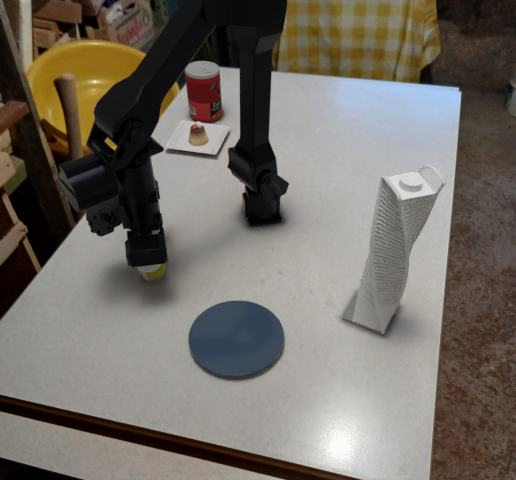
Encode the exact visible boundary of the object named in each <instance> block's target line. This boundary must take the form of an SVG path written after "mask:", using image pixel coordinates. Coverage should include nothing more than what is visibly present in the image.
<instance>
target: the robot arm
mask: <svg viewBox="0 0 516 480" xmlns="http://www.w3.org/2000/svg"><path fill="white" fill-rule="evenodd" d="M288 5H289V3H288V0H182V1H181V3H180V5H179V6H178V7H177V9H176V10H175V11H174V13H173V14H172V17H171V18H170V19H169V20H168V22H167V23H166V25H165V26H164V27H163V30H162V31H161V32H160V33H159V34H158V36H157V38H156V39H155V41H154V42H153V43H152V45H151V47H150V48H149V50H148V51H147V52H146V54H145V55H144V57H142V60H141V61H140V62H139V64H138V65H137V66H136V68H135V70H133V72H132V73H131V74H130V75H128V76H127V77H125V78H123V79H121V80H120V81H118V82H115V83H114V84H113V85H111V87H110V88H109V89H108V90H107V91H106V92H105V93H104V94H103V95H102V96H101V98H99V100H97V102H96V104H95V106H94V109H93V115H94V120H93V123H92V126H91V128H90V132H89V134H88V137H87V140H86V143H85V146H86V148H87V149H88V150H90V152H91V153H89V154H87V155H84V156H82V157H79V158H76V159H72V160H67V161H64V162H62V163H59V164H58V167H59V170H60V172H59V175H58V176H59V180H58V182H59V184H60V186H61V189H62V191H63V193H64V195H65V197H66V199H67V201H68V203H69V204H70V206H71V207H72V208H73V210H74V211H75V212H77V213H80V212H83V211H85V220H86V221H87V225H88V226H89V229H90V233H92V234H96V235H97V236H98V237H105V236H107V235H109V234H112V233H113V232H114V231H115V228H118V227H120V226H121V225H122V229H123V230H127V231H126V240H125V242H124V248H125V258H126V263H127V266H128V267H130V268H137V267H141V266H149V265H158V264H165V263H166V264H167V262H169V255H168V248H167V241H166V237H165V229H164V226H163V225H164V221H163V220H164V219H163V214H162V212H161V208H160V202H159V200H161V194H160V188H159V181H158V180H156V177H155V174H154V167H153V161H152V157H154V156H156V155H158V154H160V153H163V152H164V150H165V148H164V146H163V145H161V144H160V143H159V142H158V141H157V140H156V139H155V138H153V133H154V132H155V129H157V126H158V124H159V122H160V117H161V112H162V111H161V109H162V105H163V103H164V101H165V99H166V97H167V95H168V94H169V92H170V91H171V89H172V88H173V87H174V85H175V84H176V83H177V82H178V80H179V78H180V77H181V76H182V74H184V72H185V68H186V67H187V66H188V64H190V63H191V61H192V60H193V59H194V57H195V56H196V54H197V53H198V51H199V50H200V49H201V47H202V46H203V44H204V43H205V42H206V41H207V39H208V37H209V36H210V35H211V34H212V32H213V30H214V29H215V28H216V27H220V26H230V27H231V29H232V32H233V34H234V37H235V40H236V42H237V45H238V49H239V51H238V52H239V138H238V140H237V142H236V143H235V145H234V146H231V147H228V148H227V155H228V163H227V165H226V166H227V168H228V169H229V171H230V173H231V174H232V176H233V177H235V178H236V179H237V180H238V181H239V182H240V183H242V184H243V185H244V192H242V193H241V199H242V200H241V202H242V212H243V215H244V218H245V219H247V223H248V225H249V227H255V226H262V225H269V224H277V223H282V222H283V218H282V216H281V197H282V196H284V195H286V194H287V192H288V189H289V186H290V182H288V181H287V180H286V179H284V177H282V176H280V175H279V174H278V163H277V156H276V154H275V152H274V149H273V147H272V144H271V142H270V123H271V122H270V121H271V100H272V99H271V98H272V97H271V96H272V95H271V94H272V76H273V75H272V73H273V72H272V71H273V70H272V69H273V50H274V48H275V46H276V44H277V43H278V41H279V39H280V38H281V36H282V34H283V32H284V27H285V21H286V16H287V10H288ZM107 139H108V140H110V141H111V142H112V143H113V144H114V145H115V146H116V148H115V149H113V147H111V146H110V145H109V144H108V143H107V142H106V140H107Z"/></svg>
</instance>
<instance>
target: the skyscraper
mask: <svg viewBox="0 0 516 480" xmlns="http://www.w3.org/2000/svg"><path fill="white" fill-rule="evenodd" d="M425 169H430V170H432V171H433V172H434V173H436V174H437V175H438V176H439V178H440V181H441V184H440V185H439V187H438V189H437V190H435V189H434V187H433V186H432V185H431V184H430V183H429V181H428V179H426V178H425V176H424V175H423V174H422V173H421V172H422V171H424V170H425ZM445 185H447V180H446V178H445V176H444V175H443V174H442V172H441V171H440V170H439V169H438V168H436V167H435V166H434V165H432V164H431V163H425V164H423V165H421V166H420V167H419V168H418V169H417V170H416V171H413V172H411V171H409V172H404V173H402V174H397V175H396V174H395V175H390V176H386V175H384V174H383V175H381V177H380V180H379V184H378V190H377V195H376V199H375V204H374V209H373V215H372V221H371V227H370V228H371V229H370V234H369V235H370V236H369V250H368V251H369V252H368V255H367V258H366V259H365V264H364V267H363V272H362V275H361V279H360V283H359V287H358V291H357V294H356V296H355V297H354V299H353V301H352V302H351V304H350V306H349V307H348V309H347V311H346V312H345V314H344V316H343V318H342V320H343V321H346V322H348V323H350V324H353V325H355V326H358V327H361V328H363V329H365V330H368V331H370V332H373V333H376V334H378V335H380V336H384V335H385V333H386V331H387V329H388V327H389V325H390V323H391V321H392V320H393V317H394V316H395V314H396V312H397V310H398V308H399V305H400V303H401V301H402V298H403V296H404V293H405V290H406V286H407V282H408V276H409V268H410V256H411V252H412V250H413V246H414V244H415V242H416V241H417V240H418V238H419V236H420V235H421V233H422V232H423V229H424V227H425V226H426V224H427V221H428V219H429V217H430V215H431V213H432V211H433V209H434V206H435V203H436V201H437V198H438V197H439V194H440V193H441V191H442V190H443V188H444V187H445Z"/></svg>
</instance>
